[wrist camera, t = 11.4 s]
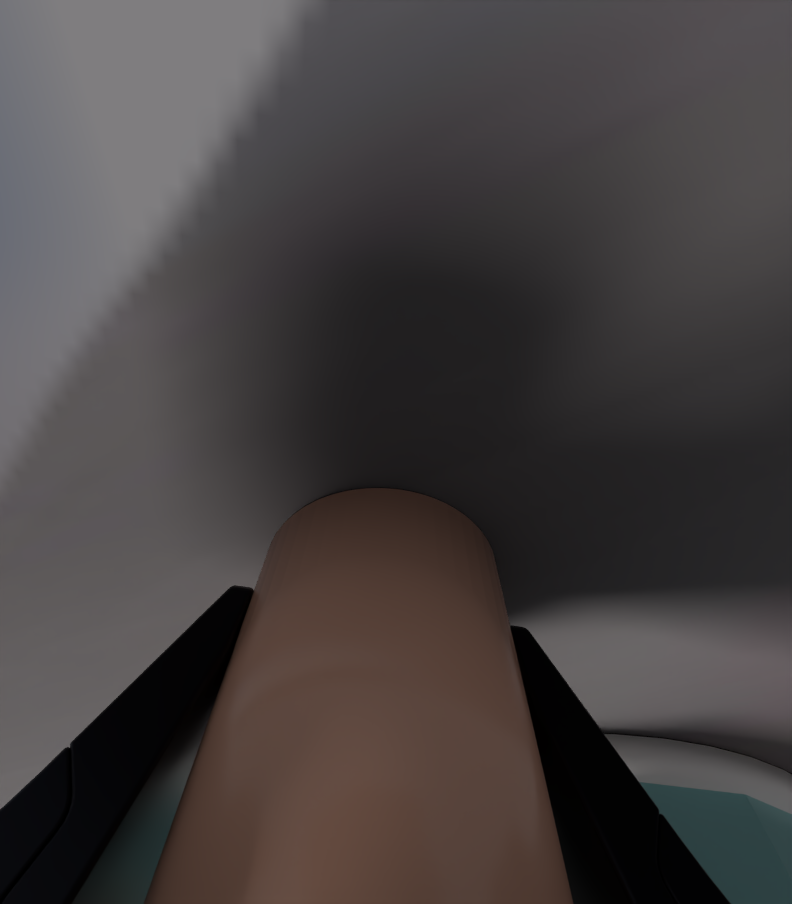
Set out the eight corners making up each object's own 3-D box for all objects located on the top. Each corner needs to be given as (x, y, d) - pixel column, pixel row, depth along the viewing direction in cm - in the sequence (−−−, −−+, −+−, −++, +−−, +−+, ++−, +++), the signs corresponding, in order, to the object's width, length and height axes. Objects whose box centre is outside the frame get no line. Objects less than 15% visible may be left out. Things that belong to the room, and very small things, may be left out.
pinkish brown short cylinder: (344, 670, 12) (298, 1051, 7) (217, 543, 10) (3, 979, 4) (529, 611, 10) (645, 1033, 5) (434, 448, 8) (482, 914, 3)
